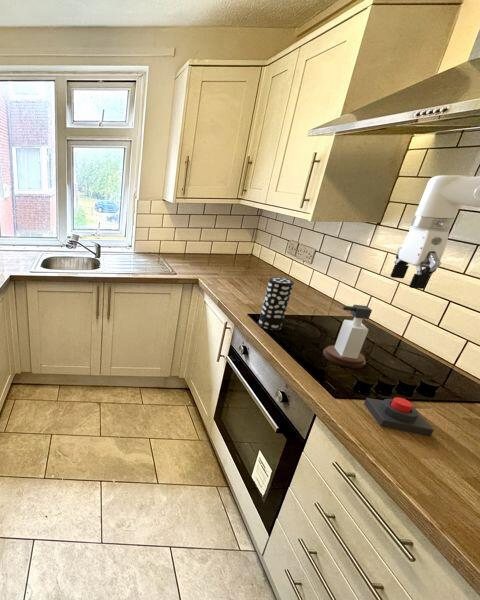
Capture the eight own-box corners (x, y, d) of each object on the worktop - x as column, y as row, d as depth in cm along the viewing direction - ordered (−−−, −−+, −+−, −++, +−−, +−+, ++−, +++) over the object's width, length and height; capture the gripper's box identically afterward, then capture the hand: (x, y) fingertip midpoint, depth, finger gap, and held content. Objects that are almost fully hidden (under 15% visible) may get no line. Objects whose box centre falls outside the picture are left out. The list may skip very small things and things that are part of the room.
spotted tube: (263, 319, 137) (274, 275, 130) (284, 326, 132) (297, 281, 124) (254, 324, 133) (265, 279, 125) (276, 332, 127) (289, 285, 119)
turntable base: (355, 353, 112) (356, 350, 112) (371, 371, 102) (373, 368, 102) (317, 347, 116) (318, 344, 115) (329, 364, 106) (330, 361, 105)
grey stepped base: (408, 412, 85) (414, 400, 83) (430, 436, 77) (437, 424, 75) (363, 403, 88) (368, 392, 86) (380, 426, 80) (386, 414, 78)
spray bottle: (355, 350, 111) (374, 303, 104) (370, 366, 102) (391, 316, 95) (321, 345, 114) (337, 299, 108) (332, 360, 105) (350, 311, 98)
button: (404, 405, 82) (408, 398, 81) (413, 414, 79) (416, 408, 78) (387, 402, 83) (390, 395, 82) (395, 411, 80) (398, 404, 79)
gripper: (473, 229, 77) (442, 294, 84) (428, 220, 93) (404, 275, 99) (434, 227, 80) (407, 290, 86) (396, 218, 95) (375, 273, 101)
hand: (406, 282), depth 93 cm, fingers open, 9 cm apart
